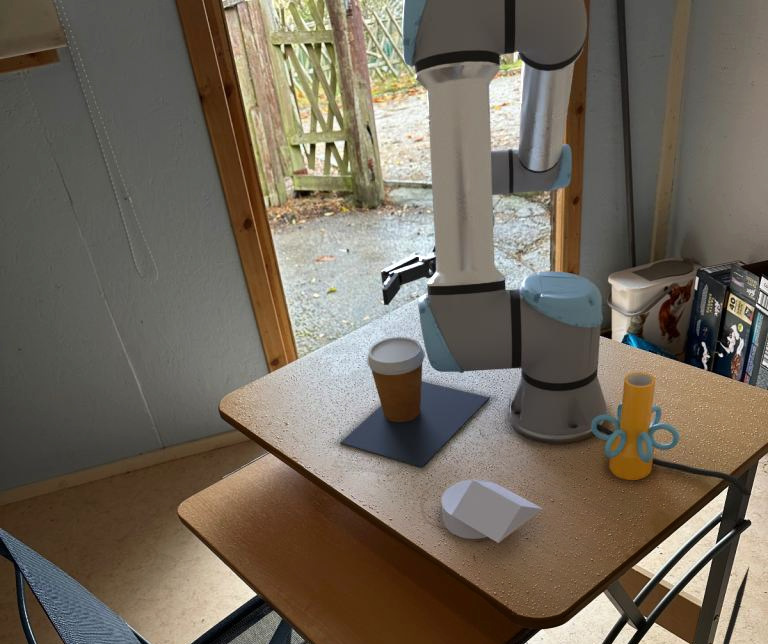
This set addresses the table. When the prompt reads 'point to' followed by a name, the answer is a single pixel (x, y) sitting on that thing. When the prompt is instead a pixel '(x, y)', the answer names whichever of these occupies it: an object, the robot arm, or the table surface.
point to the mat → (417, 426)
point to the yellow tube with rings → (634, 429)
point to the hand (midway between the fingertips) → (424, 298)
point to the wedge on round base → (484, 510)
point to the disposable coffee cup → (397, 376)
